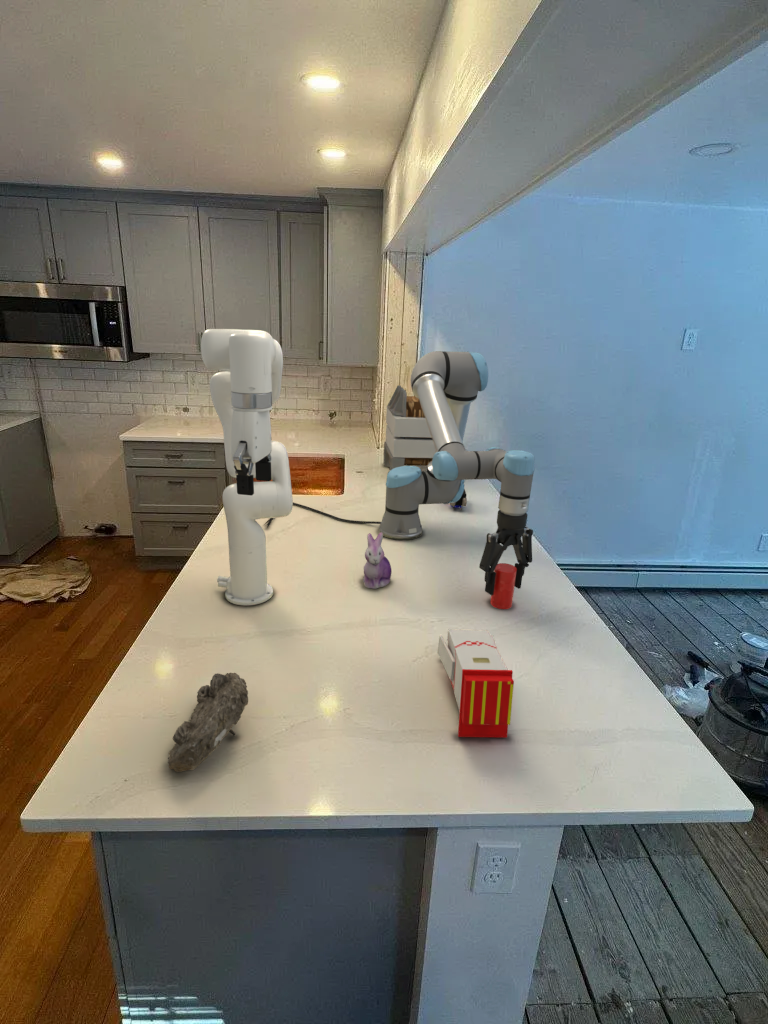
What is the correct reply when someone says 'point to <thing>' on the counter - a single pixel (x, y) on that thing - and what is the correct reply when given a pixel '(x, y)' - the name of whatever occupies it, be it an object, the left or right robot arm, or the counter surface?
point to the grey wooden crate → (406, 432)
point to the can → (504, 586)
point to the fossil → (209, 721)
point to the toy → (478, 682)
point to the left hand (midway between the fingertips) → (255, 487)
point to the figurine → (376, 564)
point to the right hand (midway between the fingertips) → (502, 589)
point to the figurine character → (460, 501)
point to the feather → (269, 522)
